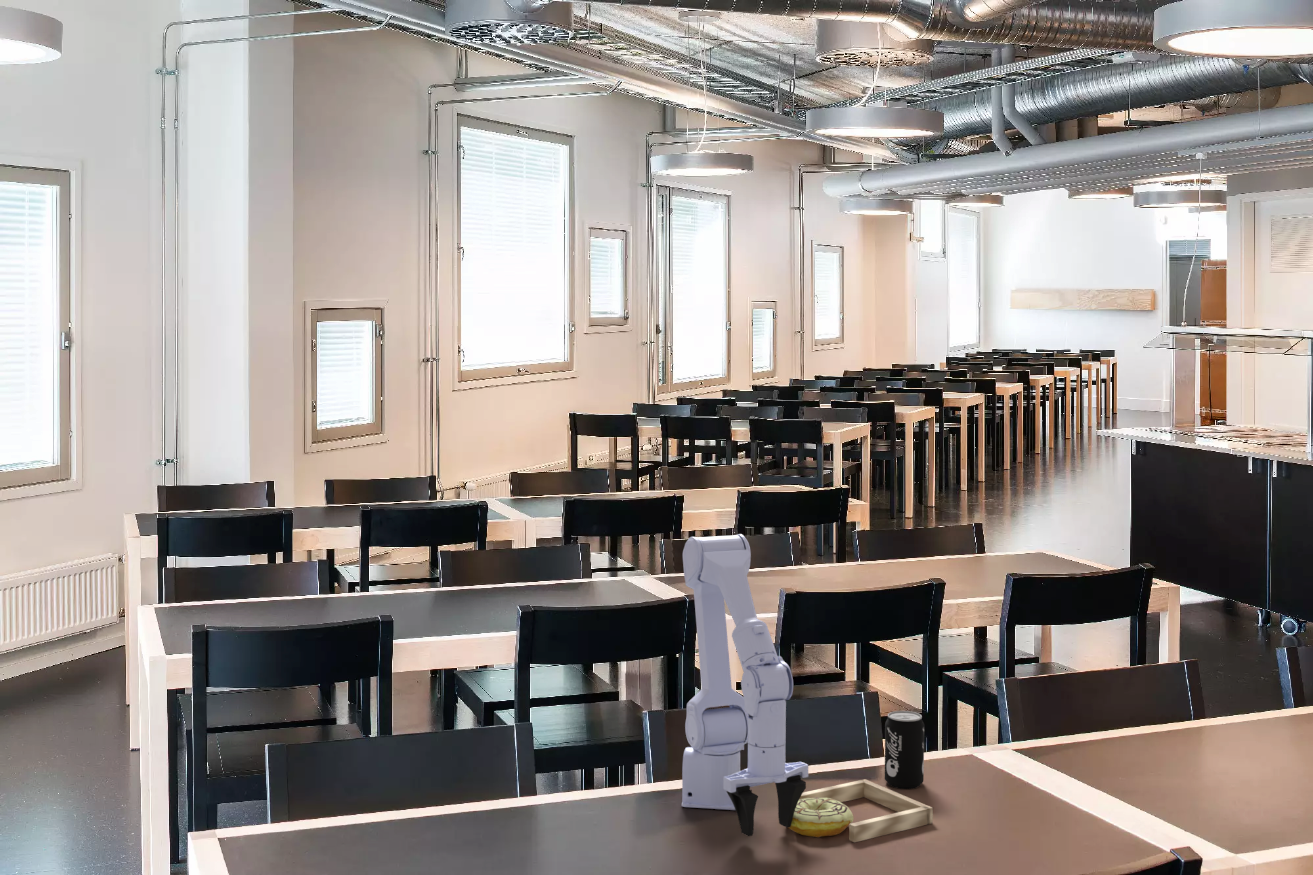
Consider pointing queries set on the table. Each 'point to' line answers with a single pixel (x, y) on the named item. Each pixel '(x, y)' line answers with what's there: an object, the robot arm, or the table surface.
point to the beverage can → (904, 750)
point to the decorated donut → (820, 817)
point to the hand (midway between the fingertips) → (766, 829)
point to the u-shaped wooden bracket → (907, 808)
